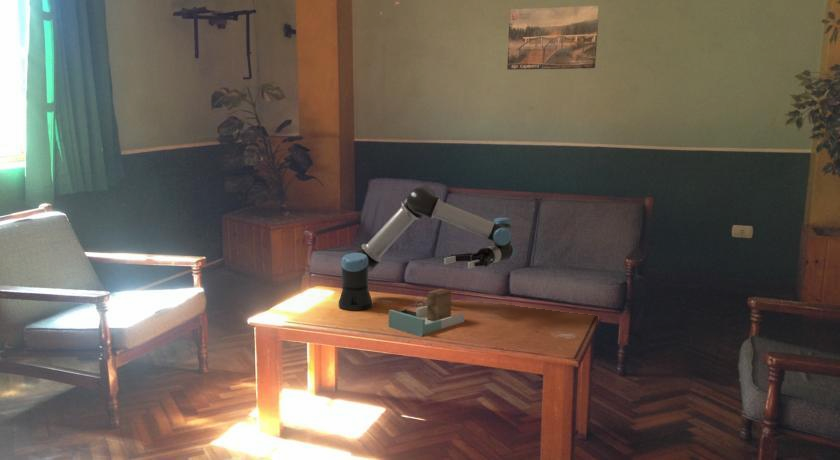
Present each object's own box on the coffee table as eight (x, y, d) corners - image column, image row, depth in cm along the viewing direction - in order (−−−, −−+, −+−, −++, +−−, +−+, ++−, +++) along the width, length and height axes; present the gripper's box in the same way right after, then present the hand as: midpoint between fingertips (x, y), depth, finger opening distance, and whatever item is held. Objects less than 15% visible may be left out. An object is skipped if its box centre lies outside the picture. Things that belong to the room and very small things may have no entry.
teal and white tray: (388, 326, 292) (388, 310, 291) (430, 314, 310) (430, 299, 309) (422, 337, 279) (422, 319, 278) (464, 323, 297) (464, 307, 296)
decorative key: (412, 312, 324) (452, 310, 315) (411, 313, 323) (451, 311, 314) (410, 297, 324) (450, 295, 315) (409, 298, 323) (449, 296, 314)
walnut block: (427, 319, 299) (427, 291, 297) (440, 316, 305) (440, 288, 303) (437, 322, 295) (438, 294, 293) (450, 318, 300) (451, 291, 299)
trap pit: (390, 320, 302) (390, 313, 301) (405, 316, 308) (405, 309, 308) (400, 323, 297) (400, 316, 297) (416, 319, 304) (416, 312, 303)
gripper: (510, 267, 310) (479, 276, 296) (467, 260, 328) (435, 268, 313) (510, 250, 309) (478, 258, 295) (467, 244, 327) (435, 251, 312)
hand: (456, 263), depth 304 cm, fingers open, 13 cm apart
